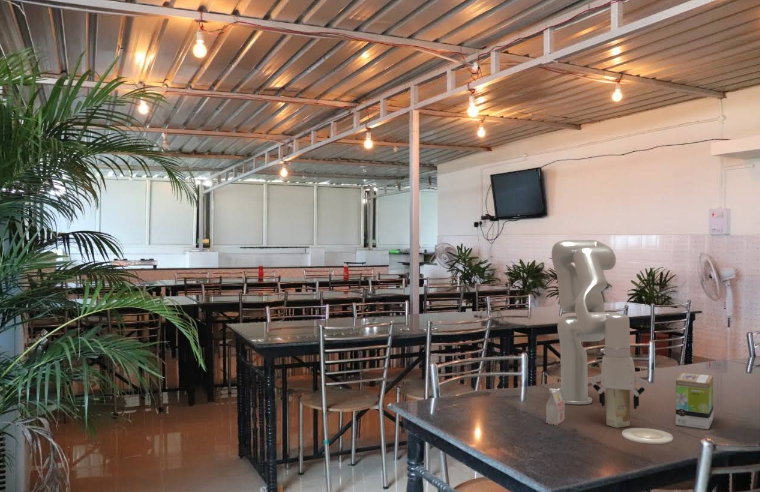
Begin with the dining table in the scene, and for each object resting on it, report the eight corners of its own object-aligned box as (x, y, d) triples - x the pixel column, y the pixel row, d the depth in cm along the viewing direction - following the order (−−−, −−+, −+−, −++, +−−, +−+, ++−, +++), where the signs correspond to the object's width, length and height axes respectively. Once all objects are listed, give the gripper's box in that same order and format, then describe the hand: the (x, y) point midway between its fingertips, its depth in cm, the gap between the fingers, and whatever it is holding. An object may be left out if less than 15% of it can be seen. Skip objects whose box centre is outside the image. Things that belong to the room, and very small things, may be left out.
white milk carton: (546, 423, 203) (545, 392, 203) (554, 419, 209) (553, 388, 209) (557, 425, 201) (556, 394, 201) (564, 420, 206) (564, 390, 206)
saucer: (620, 440, 184) (619, 437, 184) (624, 428, 196) (624, 425, 196) (672, 446, 178) (672, 443, 178) (673, 433, 190) (673, 430, 190)
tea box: (710, 430, 194) (709, 382, 194) (674, 425, 199) (674, 379, 199) (714, 419, 207) (713, 374, 207) (680, 415, 212) (680, 371, 212)
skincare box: (616, 428, 197) (616, 389, 197) (605, 425, 200) (605, 386, 201) (631, 425, 200) (630, 387, 200) (620, 422, 203) (619, 384, 204)
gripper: (587, 353, 201) (589, 406, 200) (646, 355, 193) (647, 411, 192) (591, 350, 207) (592, 402, 207) (647, 352, 200) (649, 406, 199)
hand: (619, 406), depth 199 cm, fingers open, 9 cm apart
